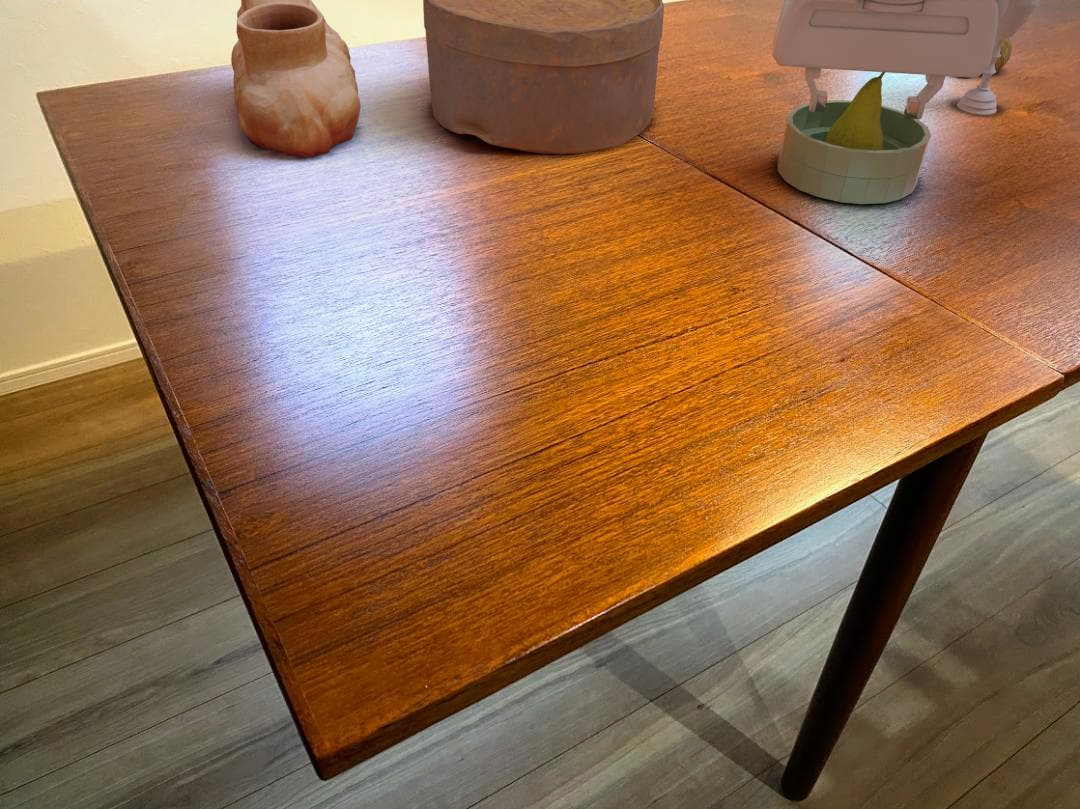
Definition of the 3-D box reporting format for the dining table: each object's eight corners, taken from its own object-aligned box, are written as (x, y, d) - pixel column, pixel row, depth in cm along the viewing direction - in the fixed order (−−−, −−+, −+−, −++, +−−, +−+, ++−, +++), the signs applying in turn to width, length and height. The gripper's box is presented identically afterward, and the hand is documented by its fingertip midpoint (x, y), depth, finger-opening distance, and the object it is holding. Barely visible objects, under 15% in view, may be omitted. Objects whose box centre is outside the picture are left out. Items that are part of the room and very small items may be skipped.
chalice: (956, 95, 115) (1003, -57, 104) (1011, 107, 112) (1066, -49, 101) (940, 112, 110) (987, -46, 99) (996, 125, 107) (1052, -37, 96)
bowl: (904, 158, 99) (919, 105, 95) (922, 215, 88) (940, 158, 84) (775, 147, 101) (785, 95, 97) (777, 202, 90) (789, 145, 86)
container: (475, 175, 93) (472, 25, 84) (398, 96, 113) (389, -32, 104) (699, 142, 103) (718, 4, 94) (592, 75, 122) (599, -44, 113)
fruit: (809, 174, 94) (834, 59, 86) (834, 158, 97) (861, 46, 90) (859, 191, 91) (890, 72, 83) (884, 173, 94) (915, 58, 87)
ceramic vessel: (343, 78, 117) (327, -46, 107) (376, 156, 97) (361, 12, 88) (234, 88, 113) (209, -40, 104) (246, 170, 94) (216, 23, 85)
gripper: (1010, -38, 82) (965, 109, 91) (786, -47, 85) (763, 96, 94) (1026, -21, 77) (977, 132, 86) (788, -32, 80) (763, 118, 89)
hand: (863, 113), depth 90 cm, fingers open, 8 cm apart
